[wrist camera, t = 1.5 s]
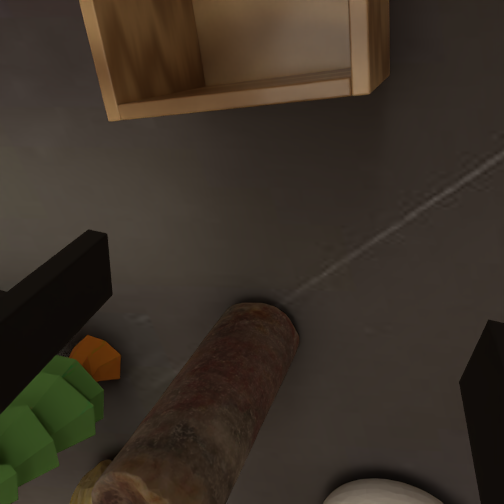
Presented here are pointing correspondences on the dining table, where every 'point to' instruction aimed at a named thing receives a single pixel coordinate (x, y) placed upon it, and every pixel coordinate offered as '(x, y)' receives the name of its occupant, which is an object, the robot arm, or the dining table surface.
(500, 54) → the dining table surface
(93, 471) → the beige rounded lump
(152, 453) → the brown upright cylinder
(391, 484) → the decorative figurine
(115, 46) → the chest
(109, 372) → the decorative tree
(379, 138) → the dining table surface
